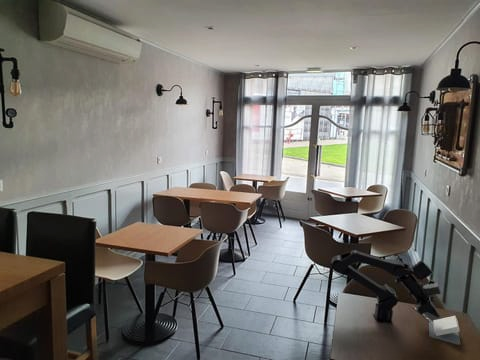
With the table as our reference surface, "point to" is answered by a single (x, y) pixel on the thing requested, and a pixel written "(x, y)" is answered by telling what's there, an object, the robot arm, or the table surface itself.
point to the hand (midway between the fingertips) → (438, 316)
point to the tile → (446, 325)
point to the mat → (446, 337)
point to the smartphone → (428, 315)
